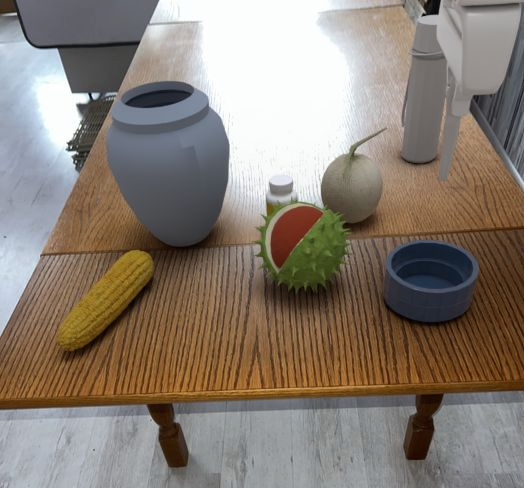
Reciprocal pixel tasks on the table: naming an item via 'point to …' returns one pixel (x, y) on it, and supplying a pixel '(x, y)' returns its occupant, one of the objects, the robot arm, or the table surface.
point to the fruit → (352, 185)
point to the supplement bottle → (280, 192)
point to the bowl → (429, 280)
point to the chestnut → (302, 244)
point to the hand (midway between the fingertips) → (456, 107)
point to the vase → (169, 159)
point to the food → (106, 300)
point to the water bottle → (424, 94)
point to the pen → (449, 133)
